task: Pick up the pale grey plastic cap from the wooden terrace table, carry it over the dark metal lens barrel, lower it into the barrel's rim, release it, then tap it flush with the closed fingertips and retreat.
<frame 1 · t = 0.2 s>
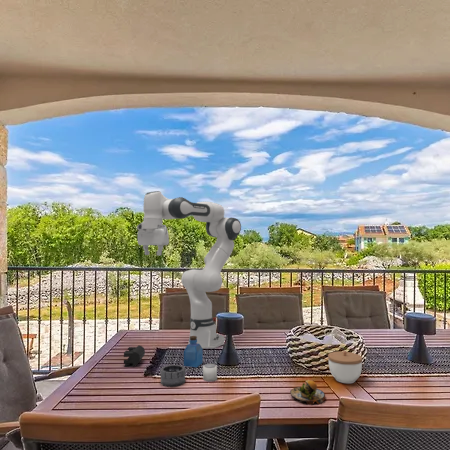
hand: (152, 255, 173), 48 cm above the table, tool pointing down, fingers open, 8 cm apart
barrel: (172, 382, 142), on the table
burger: (307, 398, 128), on the table
perfume bottle: (193, 364, 163), on the table
lidded bowl: (345, 380, 143), on the table
cap: (210, 379, 145), on the table
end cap: (134, 364, 165), on the table
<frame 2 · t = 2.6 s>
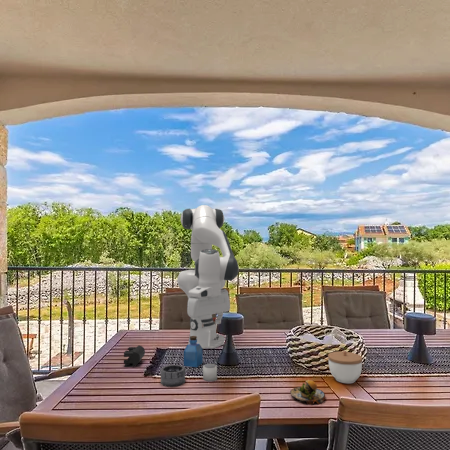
hand: (209, 325, 146), 21 cm above the table, tool pointing down, fingers open, 8 cm apart
nothing on the table moved.
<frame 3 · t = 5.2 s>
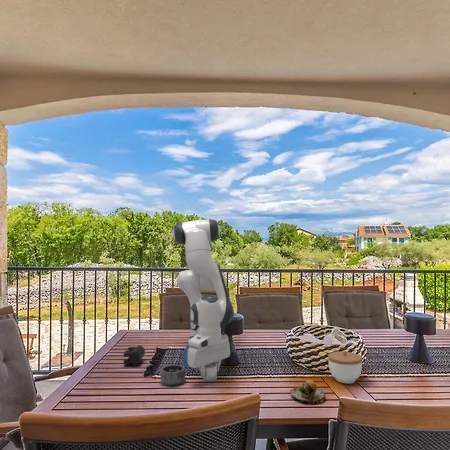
hand: (209, 373, 145), 2 cm above the table, tool pointing down, fingers closed on cap, 5 cm apart
cap: (210, 378, 145), on the table, touching gripper
everything else where it was.
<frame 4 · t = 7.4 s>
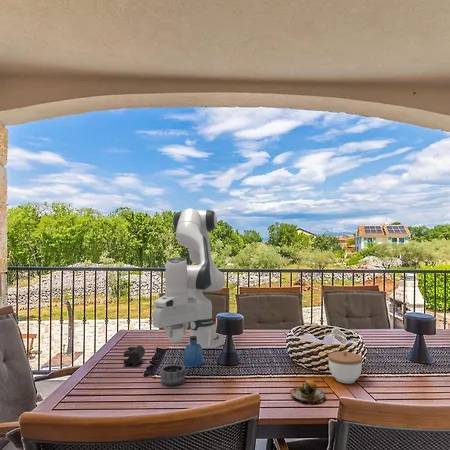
hand: (176, 335, 143), 17 cm above the table, tool pointing down, fingers closed on cap, 5 cm apart
cap: (176, 341, 143), point 16 cm above the table, touching gripper
everything else where it was.
when the fingers open (6 cm above the table, at t = 9.8 s): cap drops 1 cm, resting on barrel.
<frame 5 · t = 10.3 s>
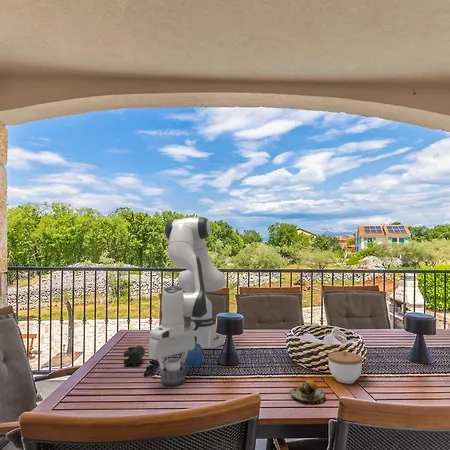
hand: (172, 365, 143), 6 cm above the table, tool pointing down, fingers open, 8 cm apart
cap: (173, 374, 143), point 3 cm above the table, touching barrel
everything else where it was.
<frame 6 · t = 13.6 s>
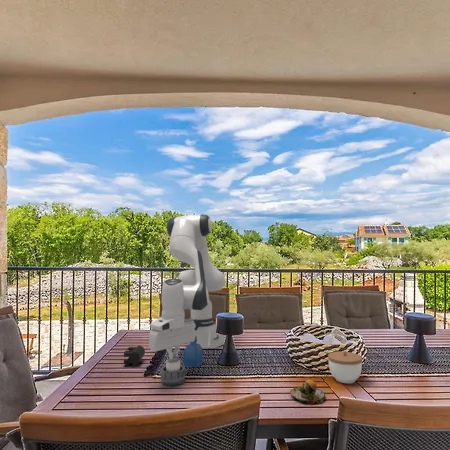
hand: (173, 357, 143), 9 cm above the table, tool pointing down, fingers closed
nothing on the table moved.
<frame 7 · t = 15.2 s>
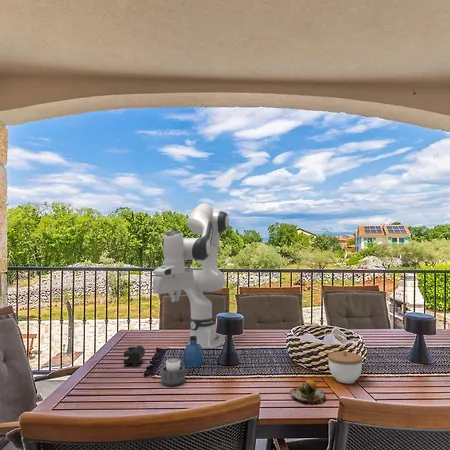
hand: (175, 301, 159), 28 cm above the table, tool pointing down, fingers closed
nothing on the table moved.
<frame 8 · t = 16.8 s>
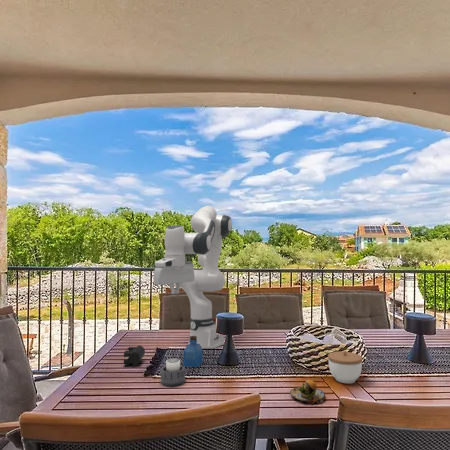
hand: (175, 293, 162), 31 cm above the table, tool pointing down, fingers closed
nothing on the table moved.
at the end: cap 0.1 cm off-centre on the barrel, point 3.0 cm above the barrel's base; cap tilted 0°; the gripper is holding nothing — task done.
